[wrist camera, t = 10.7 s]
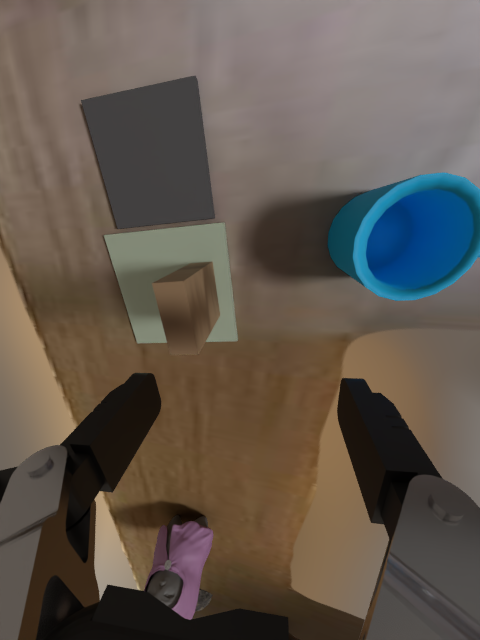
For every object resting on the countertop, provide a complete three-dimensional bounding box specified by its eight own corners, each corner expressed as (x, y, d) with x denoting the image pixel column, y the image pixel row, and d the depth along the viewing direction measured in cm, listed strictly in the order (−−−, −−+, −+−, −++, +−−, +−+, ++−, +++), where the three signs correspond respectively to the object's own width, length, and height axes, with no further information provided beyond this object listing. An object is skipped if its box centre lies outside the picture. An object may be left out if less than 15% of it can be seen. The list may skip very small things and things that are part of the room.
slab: (190, 263, 26) (151, 283, 17) (212, 261, 25) (183, 281, 17) (200, 316, 28) (170, 355, 20) (220, 315, 28) (198, 354, 20)
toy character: (211, 500, 45) (169, 691, 27) (223, 530, 49) (193, 714, 30) (156, 499, 47) (84, 673, 29) (171, 527, 51) (116, 696, 33)
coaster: (85, 103, 21) (81, 100, 21) (197, 79, 20) (195, 75, 19) (120, 228, 26) (117, 228, 25) (214, 218, 24) (213, 218, 23)
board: (106, 235, 26) (103, 235, 26) (224, 222, 24) (223, 222, 23) (139, 341, 32) (137, 343, 31) (237, 339, 29) (237, 341, 29)
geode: (213, 585, 62) (161, 573, 63) (209, 607, 58) (154, 594, 60) (211, 610, 70) (165, 599, 71) (208, 631, 66) (159, 618, 68)
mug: (319, 272, 25) (339, 294, 17) (338, 186, 21) (373, 168, 14) (436, 284, 24) (511, 313, 16) (476, 195, 20) (593, 181, 13)
